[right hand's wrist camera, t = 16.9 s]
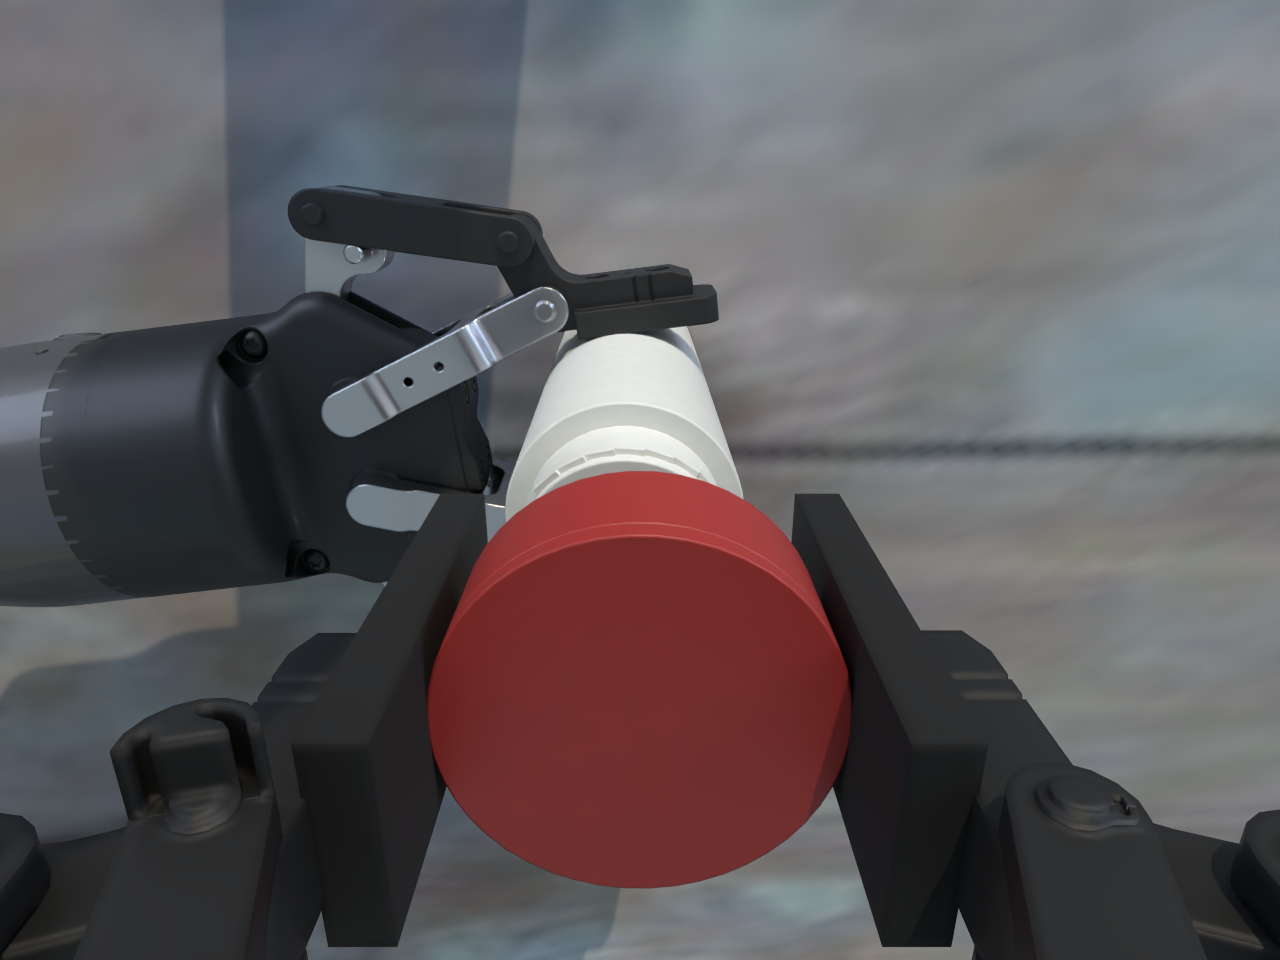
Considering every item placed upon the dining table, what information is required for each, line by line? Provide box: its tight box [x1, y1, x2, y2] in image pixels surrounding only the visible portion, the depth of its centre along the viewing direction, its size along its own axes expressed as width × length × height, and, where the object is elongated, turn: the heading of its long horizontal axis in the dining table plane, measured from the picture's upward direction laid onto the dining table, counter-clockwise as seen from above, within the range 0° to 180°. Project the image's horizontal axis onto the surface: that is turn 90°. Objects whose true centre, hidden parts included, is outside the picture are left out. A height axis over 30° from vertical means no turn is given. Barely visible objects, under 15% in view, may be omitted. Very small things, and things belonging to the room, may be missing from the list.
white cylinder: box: [505, 326, 743, 522], centre depth 22 cm, size 5×5×16 cm
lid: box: [427, 471, 852, 888], centre depth 11 cm, size 5×5×2 cm
